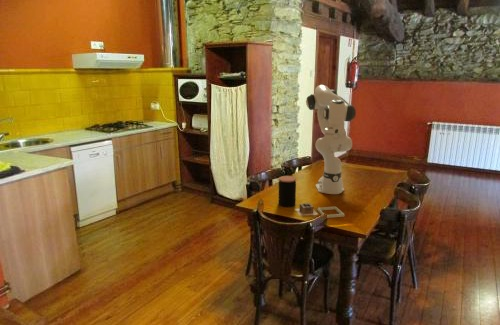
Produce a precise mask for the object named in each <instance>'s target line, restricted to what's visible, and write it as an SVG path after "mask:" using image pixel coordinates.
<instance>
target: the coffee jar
mask: <svg viewBox="0 0 500 325" xmlns="http://www.w3.org/2000/svg"><path fill="white" fill-rule="evenodd" d="M278 180H279V181H278V206H280V207H283V208H292V207H295V206H296V201H297V200H296V198H297V197H296V196H297V193H296V192H297V177H295V176H292V175H291V176H290V175H283V176H282V175H281V176H279V177H278Z"/></svg>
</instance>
